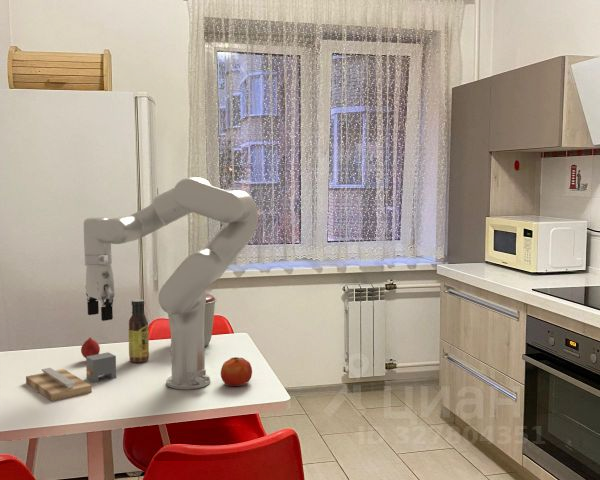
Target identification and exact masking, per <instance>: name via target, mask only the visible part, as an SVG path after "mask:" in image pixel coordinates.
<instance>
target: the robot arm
mask: <svg viewBox="0 0 600 480" xmlns="http://www.w3.org/2000/svg"><path fill="white" fill-rule="evenodd" d="M192 213H194V214H197V215H199V216H202V217H206V218H208V219H211V220H214V221H218V222H220V223H225V224H224V225H223V226H222V227H221V228H220V229H219V230H218V231H217V232H216V234H215V235H214V236H213V237H212V239H211V240H210V241H209V242H208V244H206V245H205V247H203V248H201V249H199V250H197V251H194V252H192V253H191V254H189V255H188V256H186V258H185V259H184V260H183V261H182V262H181V263H180V264H179V266H178V267H177V268H176V269H175V270H174V271H173V273H172V274H171V276H169V278H168V279H167V280H166V281H165V282H164V284H162V286H161V288H160V290H159V292H158V304H159V307H160V308H161V309H162V310H163V312H165V313H166V314H167V315H168V314H171V332H170V347H171V348H170V349H171V350H170V351H171V352H170V353H171V354H170V355H171V356H170V357H171V376H169V377H167V379H166V380H165V381H166V385H167V386H168V388H171V389H175V390H184V391H185V390H186V391H187V390H195V389H201V388H203V387H204V388H205V387H206V386H207V385H209V384H210V383H211V377H210V375H207V373H206V372H207V370H206V363H205V358H206V357H205V355H206V354H205V346H204V313H205V303H206V293H207V288H208V286H210V285H211V284H212V283H214V282H216V281H217V280H219V279H221V277H222V276H223V274H224V273H225V272H226V270H228V268H229V267H230V266H231V264H232V263H233V262H234V261H235V260H236V258H238V256H239V254H241V252H242V251H243V250H244V249H245V247H246V246H247V245H248V244H249V242H250V241H251V240H252V238H253V236H254V234H255V232H256V230H257V227H258V222H259V211H258V206H257V203H256V202H255V200H254V198H253V196H251V194H249V193H247V192H246V191H244V190H240V189H239V190H226V189H222V188H220V187H217V186H216V187H215V186H213V185H212V184H211V183H210V182H209V181H208V180H207V179H205V178H203V177H187V178H183V179H180V181H178V182H177V183H176V184H175V186H174V187H173V188H171V189H169V190H166V191H165V192H162V193H161V194H159V195H158V194H157V195H156V196H155V197H154V198H153V200H152V202H151V204H150V205H148V206H146V207H145V208H142V209H141V210H139V211H137V212H135V213H131V214H130V215H128V216H121V217H120V216H119V217H115V218H113V217H112V218H107V217H88V218H86V219H84V221H83V247H84V250H83V251H84V266H86V269H85V290H86V291H85V292H86V293H85V294H86V295H85V296H87V297H86V302H87V303H86V304H87V315H88V316H93V315H94V316H95V315H99V313H100V314H101V317H100V318H101V319H100V320H101V321H102V322H105V321H113V318H114V317H113V316H114V315H113V306H114V297H115V284H114V283H115V281H114V273H113V268H112V245H122V244H126V243H129V242H134V241H137V240H140V239H142V238H144V237H145V236H148V235H149V234H152V233H154V232H156V231H157V230H160V229H162V228H163V227H165V226H168V225H170V224H171V223H173V222H175V221H177V220H179V219H181V218H184V217H185V216H189V214H192ZM99 301H100V303H101V307H100V308H99ZM99 309H100V310H99ZM99 311H100V312H99Z"/></svg>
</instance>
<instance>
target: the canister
mask: <svg viewBox="0 0 600 480" xmlns="http://www.w3.org/2000/svg"><path fill="white" fill-rule="evenodd" d="M217 301H218V299H217V297H215V296H214V295H212V294H210V293H207V292H206V303H205V313H204V347H206V346H208V344H210V342H211V341H212V335H213V326H214V316H215V308H216V307H215V306H216V304H215V303H216V302H217ZM167 318H168V323H169V324H168V325H169V331H170V333H171V314H168V313H167Z"/></svg>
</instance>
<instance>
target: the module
mask: <svg viewBox="0 0 600 480" xmlns="http://www.w3.org/2000/svg"><path fill="white" fill-rule="evenodd" d="M116 358H117V356H116V355H115V354H113V353H111V352H103V353H99V354H97V355H92V356H87V357H86V358H85V364H86V366H85V367H86V379H87V380H88V381H90V382H92V383H99V382H100V379H99V377H101V376H106V377H107V378H108V379H117V359H116Z"/></svg>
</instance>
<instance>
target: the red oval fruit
mask: <svg viewBox="0 0 600 480" xmlns="http://www.w3.org/2000/svg"><path fill="white" fill-rule="evenodd" d="M100 348H101V347H100V344H99V343H98V342H97V341H96V340H94V339H93V337H92V336H89V338H88V339H87V340H85V341H84V342H83V344H82V346H81V348H80V353H81V355H82V356H83V358H85V359H86V357H87V356H92V355H97V354H100V351H101V349H100Z"/></svg>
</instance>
